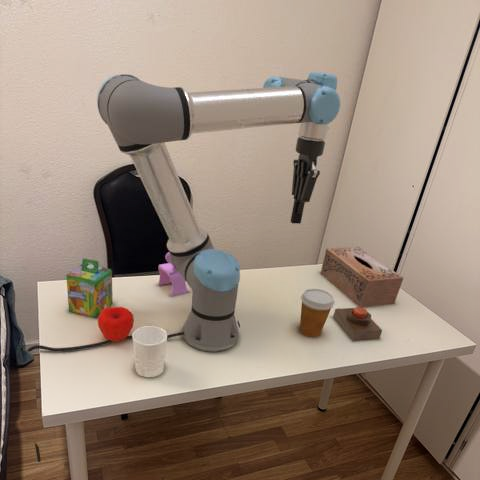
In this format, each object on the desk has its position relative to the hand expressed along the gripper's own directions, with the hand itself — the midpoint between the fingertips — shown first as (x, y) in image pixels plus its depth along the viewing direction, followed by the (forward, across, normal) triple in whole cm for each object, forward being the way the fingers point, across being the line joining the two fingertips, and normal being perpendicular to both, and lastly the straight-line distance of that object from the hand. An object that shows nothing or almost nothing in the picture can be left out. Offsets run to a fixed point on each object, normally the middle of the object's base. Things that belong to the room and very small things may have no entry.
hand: (295, 222), depth 130 cm
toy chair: (+27, +10, +34) cm, 44 cm away
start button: (+22, -19, -17) cm, 34 cm away
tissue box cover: (+27, +6, -32) cm, 42 cm away
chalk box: (+27, 0, +59) cm, 65 cm away
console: (+26, -19, -18) cm, 37 cm away
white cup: (+27, -30, +46) cm, 61 cm away
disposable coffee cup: (+27, -19, -2) cm, 33 cm away
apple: (+27, -16, +53) cm, 61 cm away
